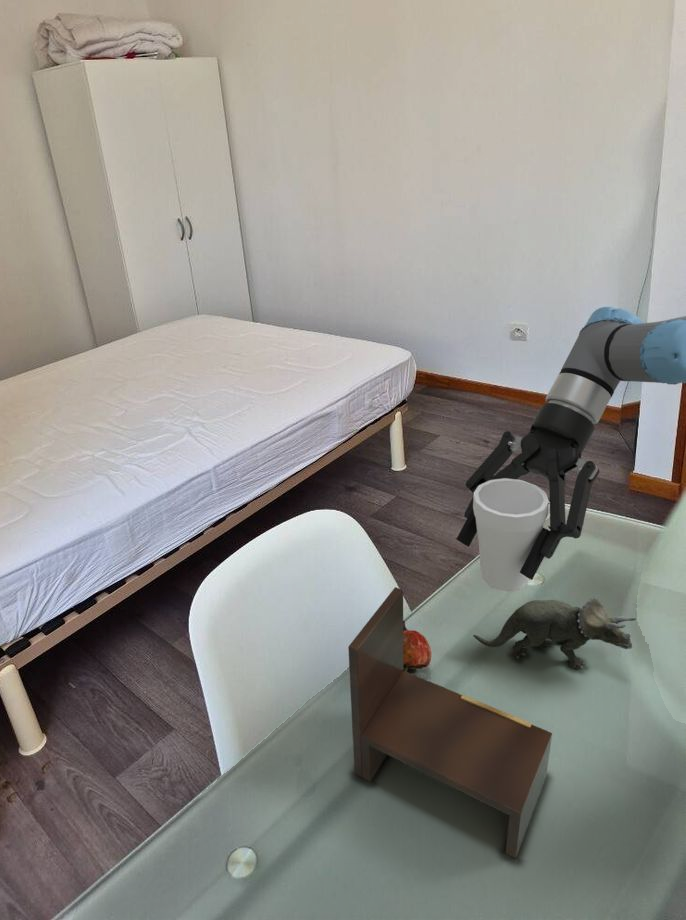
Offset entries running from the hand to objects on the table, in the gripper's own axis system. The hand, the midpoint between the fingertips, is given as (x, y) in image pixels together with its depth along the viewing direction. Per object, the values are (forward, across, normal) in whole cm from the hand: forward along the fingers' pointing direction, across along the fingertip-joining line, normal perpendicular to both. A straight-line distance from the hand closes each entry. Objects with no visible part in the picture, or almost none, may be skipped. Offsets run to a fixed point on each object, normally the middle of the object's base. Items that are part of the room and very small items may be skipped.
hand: (492, 559), depth 92 cm
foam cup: (+1, 0, -6) cm, 6 cm away
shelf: (+27, -7, -5) cm, 28 cm away
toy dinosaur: (+8, -3, -24) cm, 25 cm away
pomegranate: (+21, +9, -11) cm, 25 cm away
